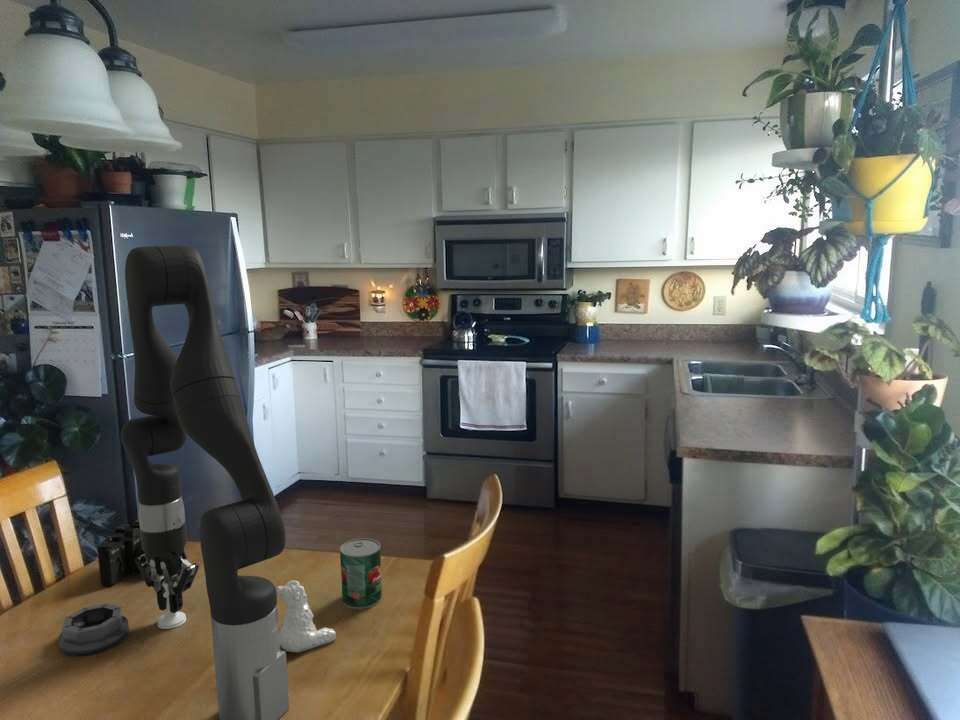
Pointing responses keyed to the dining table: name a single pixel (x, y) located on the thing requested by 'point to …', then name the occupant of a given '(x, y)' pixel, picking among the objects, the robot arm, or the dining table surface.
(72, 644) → the ashtray
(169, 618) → the chess piece
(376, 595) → the canned tomato
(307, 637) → the sitting furry creature
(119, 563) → the camera
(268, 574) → the dining table surface
